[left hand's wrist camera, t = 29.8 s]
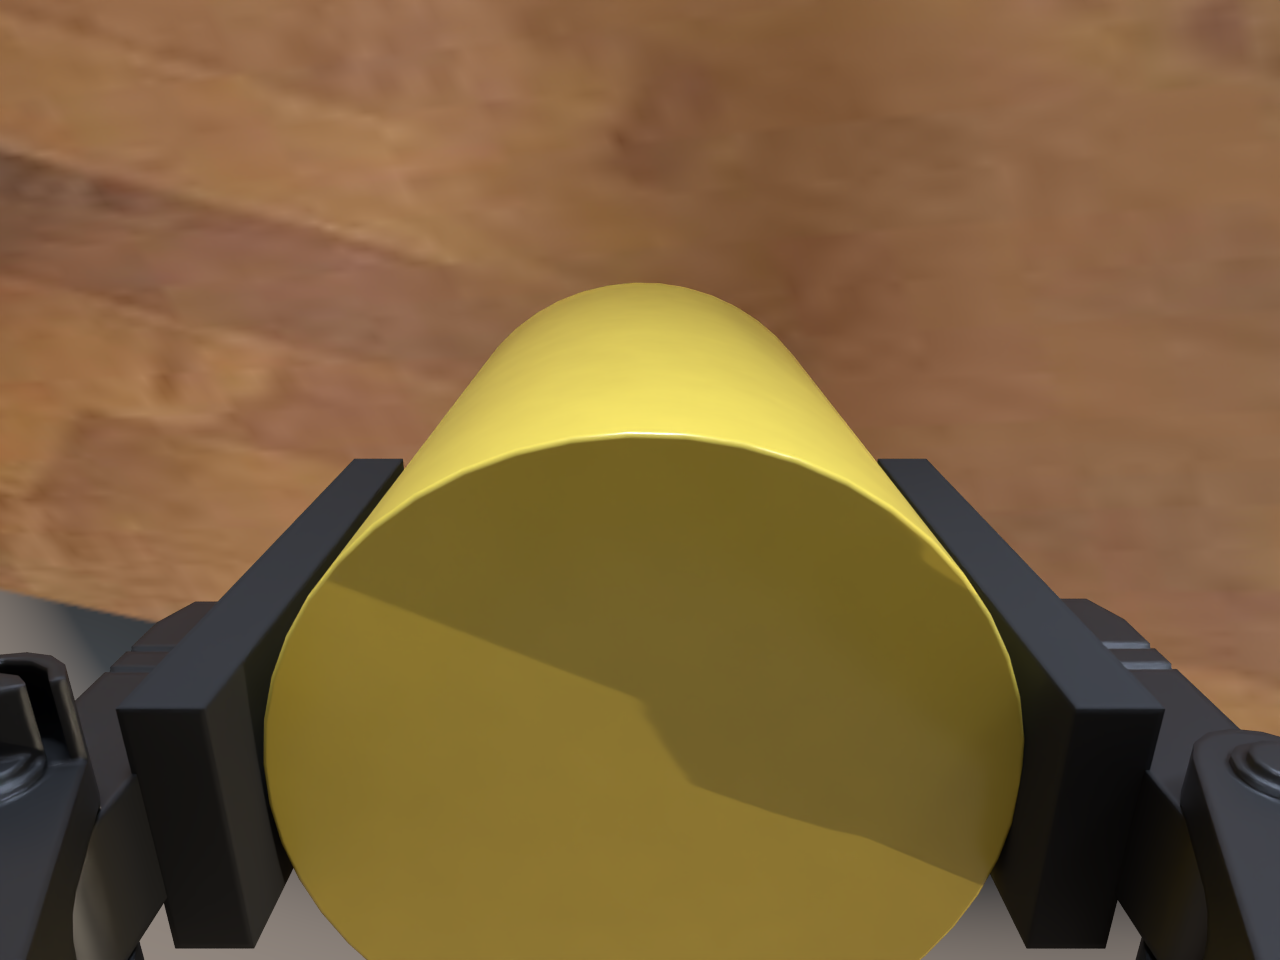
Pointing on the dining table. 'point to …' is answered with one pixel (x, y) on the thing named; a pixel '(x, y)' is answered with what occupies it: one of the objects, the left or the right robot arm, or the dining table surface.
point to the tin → (643, 671)
